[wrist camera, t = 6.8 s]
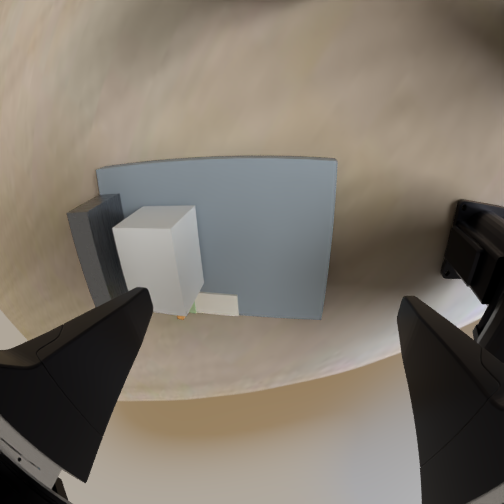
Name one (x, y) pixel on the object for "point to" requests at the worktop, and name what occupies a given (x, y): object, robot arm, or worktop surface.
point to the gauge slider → (162, 256)
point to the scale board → (246, 226)
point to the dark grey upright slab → (99, 246)
